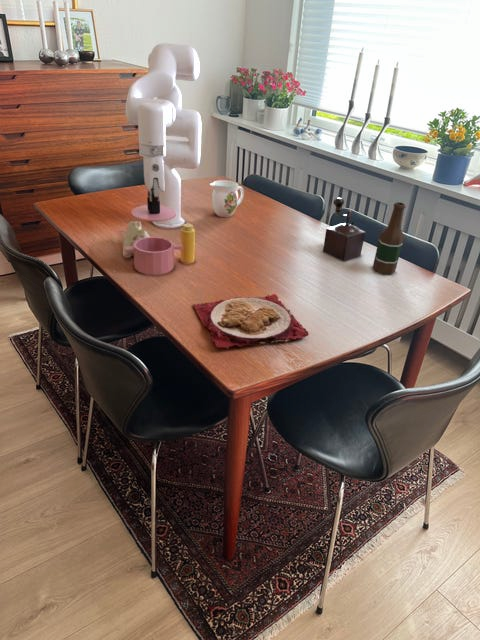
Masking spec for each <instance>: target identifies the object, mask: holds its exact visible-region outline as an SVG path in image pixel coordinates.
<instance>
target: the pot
mask: <svg viewBox="0 0 480 640" xmlns="http://www.w3.org/2000/svg"><path fill="white" fill-rule="evenodd" d="M181 249H182V245H181V243H174V242H173V241H172V240H171V239H169V238H165V237H161V236H150V237H145V238H141V239H138V240H136V241H135V242H134V244H133V246H126V247H125V252H134V255H133V266H134V269H135V270H136V271H138V272H139V273H142V274H145V275H151V276H153V275H163V274H167V273H169V272H171V271H172V270H174V267H175V251H176V250H181Z"/></svg>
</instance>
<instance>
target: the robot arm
mask: <svg viewBox="0 0 480 640" xmlns="http://www.w3.org/2000/svg"><path fill="white" fill-rule="evenodd" d="M147 65H148V69H147V73H146V74H144V75H142V76H141V77H139V78H138V79H137V80H135V81H134V82H133V83H132V84H131V85H130V87H129V89H128V92H127V97H126V101H125V111H124V112H125V117H126V120H127V121H128V123H130V124H131V125H133V126H138V152H139V156H140V157H142V158H143V161H142V163H143V179H144V180H143V181H144V185H145V187H146V190H147V197H146V198H147V199H146V201H147V204H146V205H148V210H149V213H150V214H159V213H160V205H161V206H166V207H170V208H172V209H174V210H175V211H176V216H175V217H174V218H172V219H170V220H166V221H156V222H153V221H151V222H152V224H153V225H154V226H156V227H159V228H164V229H174V228H180V227H183V224H185V219H184V218H183V217H182V215H181V214H182V213H181V212H182V211H181V210H182V207H181V206H182V198H181V197H182V180H181V177H180V175H179V173H178V171H177V170H176V169H189V170H195V169H197V168H199V166H200V163H201V156H202V154H201V153H202V151H201V149H202V118H201V115H200V113H199V111H198V110H195V109H191V108H190V109H189V108H182V92H181V90H180V88H179V87H178V85H177V84H176V81H185V82H186V81H187V82H194V81H196V80H198V78H199V75H200V69H201V68H200V67H201V65H200V59H199V56H198V53H197V51H196V49H195V48H194V47H193V46H191V45H188V44H178V43H167V42H166V43H165V42H164V43H163V42H162V43H158V44H156V45H155V46H154V47H153V48H152V50H151V52H149V54H148V57H147ZM166 136H167V137H177V138H186V139H188V140H187V141H186V140H176V139H175V140H174V139H166ZM149 196H150V201H149Z"/></svg>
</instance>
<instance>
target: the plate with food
mask: <svg viewBox="0 0 480 640" xmlns="http://www.w3.org/2000/svg"><path fill="white" fill-rule="evenodd" d="M192 307H193V308H194V310H195V311H196V313H197V316H198V317H199V319H200V321H201V323H202V325H203V327H204V328H206V329H208V330H209V331H210V334H209V337H210V340H211V341H212V343H214V344H215V347H216V348H221V349H223V348H226V349H229V348H230V347H234V346H237V347H238V348H243V347H244V346H247V345H248V346H249V345H257V344H262V345H263V344H266V342H265V341H259V340H263V339H269V338H274V340H272V341H271V343H272V344H275V345H276V344H277V343H278V342H283V343H284V342H285V343H286V342H287V343H288V342H290V341H294V340H297V339H301V338H302V339H303V338H305V337H308V336H309V335H310V333H309V331H308V330H306V328H305V327H304V326H303V325H302V324H301V322H299V321H298V320H297V319H296V317H294V314H290V311H291V310H290V309H287V308H286V306H285V304H283V303H282V300H279V297H278V295H277V294H275V293H273V294H268V295H266V296H265V297H253V296H250V297H249V296H248V297H243V296H241V297H240V296H235V297H233V298H227V299H223V300H222V299H220V300H216V301H214V302H205V303H201V304H199V303H198V304H192Z"/></svg>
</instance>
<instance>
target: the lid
mask: <svg viewBox="0 0 480 640" xmlns="http://www.w3.org/2000/svg"><path fill="white" fill-rule="evenodd" d="M149 201H150V196H149ZM130 212H131V216H132V217H133V218H135V219H137V220H139V221H140V220H141V221H144V222H152V221H153V222H156V221H166V220H170V219H172V218H174V217H175V216H176V211H175V210H174V209H172V208H170V207H166V206H161V205H160V213H159V214H150V213H149V210H148V205H147V204H144V205H140V206H137V207H134V208H132V210H131V211H130Z"/></svg>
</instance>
